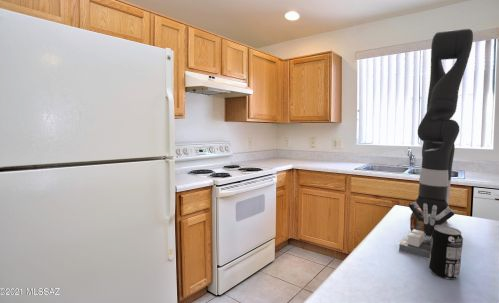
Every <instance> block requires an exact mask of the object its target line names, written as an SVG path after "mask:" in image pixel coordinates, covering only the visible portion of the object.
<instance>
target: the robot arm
mask: <svg viewBox="0 0 499 303" xmlns="http://www.w3.org/2000/svg"><path fill="white" fill-rule="evenodd" d="M473 41H474V32H473V30H472V29H470V28H461V29H460V28H459V29H450V30H442V31H438V32H435V34H434V35H433V36H432V40H431V50H430V76H429V77H430V78H429V87H428V93H427V94H428V95H427V102H426V112H425V114H424V116H423V118H422V119H421V121H420V124H419V125H418V128H417V136H418V139H419V140H421V142H422V146H421V147H422V149H421V158H422V160H421V168H420V173H419V179H418V182H419V183H418V196H417V198H416V200H415V201H414V202H411V203H408V207H409V209H410V210H411V212H413V213H414V215H415V216H416V218H417V219H418V220H419V221H422V222H423V223H424V234H425V236H426V237H432V231H433V230H434V227H435V226H442V224H444V223H447V222H448V220H449V219H451V218H452V217H453V216H454V215H455V214H456V211H455V210H454V209H451V208H450V206H449V204H450V192H451V183H452V182H451V181H452V169H453V162H454V156H455V150H456V148H455V142H456V140H457V138H458V136H459V133H460V124H459V123H458V122H457V121H456V120H454V119H452V118H453V116H454V115H455V113H456V112H457V106H458V100H459V91H460V87H461V83H462V80H463V77H464V74H465V71H466V68H467V65H468V61H469V59H470V55H471V51H472V48H473ZM442 60H445V61H447V60H455V62H454V64H453V65H452V66H451V68H450V69H449V70H448V71H447V72H445V69H444V67H443V61H442ZM419 208H420V209H421V210H422V211H423V215H422V214H421V213H420V211H419V210H418V209H419ZM430 214H431V220H430ZM423 216H424V217H423Z"/></svg>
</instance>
